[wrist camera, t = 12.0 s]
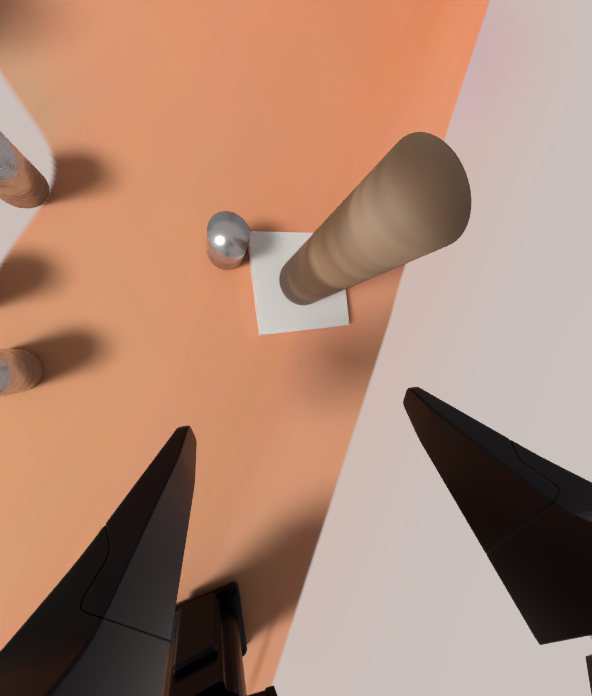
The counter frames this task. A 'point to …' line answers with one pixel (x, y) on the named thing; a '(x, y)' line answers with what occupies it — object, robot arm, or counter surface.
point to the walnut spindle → (384, 221)
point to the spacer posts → (33, 190)
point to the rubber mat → (269, 299)
